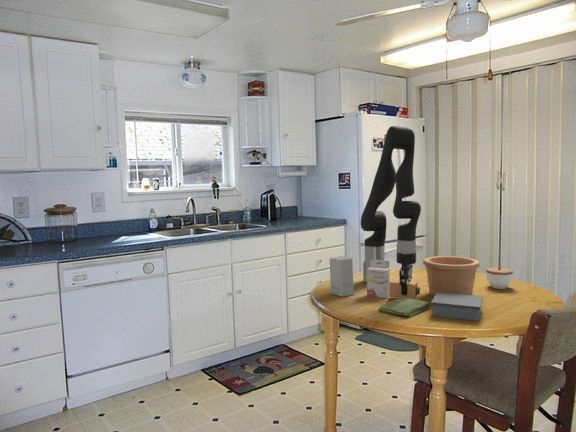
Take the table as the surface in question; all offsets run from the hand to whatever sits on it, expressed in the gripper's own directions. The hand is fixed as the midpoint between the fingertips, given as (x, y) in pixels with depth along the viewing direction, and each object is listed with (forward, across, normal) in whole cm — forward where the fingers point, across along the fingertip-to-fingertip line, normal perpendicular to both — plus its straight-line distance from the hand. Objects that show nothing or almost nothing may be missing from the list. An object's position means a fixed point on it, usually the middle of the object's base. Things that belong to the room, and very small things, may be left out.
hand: (405, 292), depth 182 cm
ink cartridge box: (+3, -2, -12) cm, 12 cm away
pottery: (+3, -15, +15) cm, 22 cm away
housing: (+2, 0, -1) cm, 2 cm away
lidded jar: (+3, -36, +33) cm, 49 cm away
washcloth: (+3, +14, +2) cm, 14 cm away
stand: (+3, +10, +20) cm, 23 cm away
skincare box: (+3, +1, -27) cm, 27 cm away
